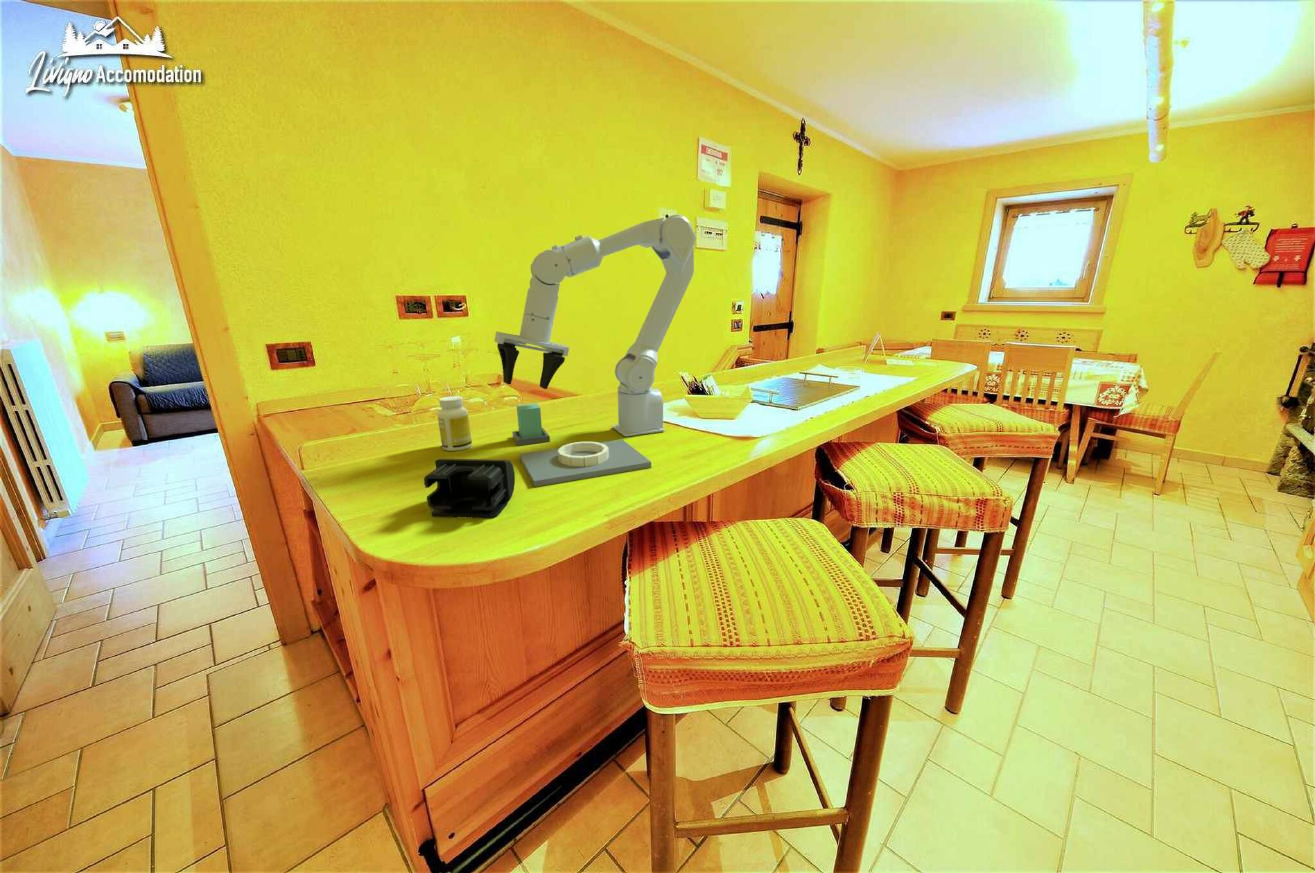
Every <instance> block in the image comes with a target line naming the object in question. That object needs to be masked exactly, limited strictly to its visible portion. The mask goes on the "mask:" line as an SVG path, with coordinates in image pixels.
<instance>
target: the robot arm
mask: <svg viewBox="0 0 1315 873" xmlns="http://www.w3.org/2000/svg"><path fill="white" fill-rule="evenodd" d="M696 236H697V235H696V233H695V232H694V228H693V226H692V224H691V222H690V220H689V219H688V218H687V217H685V216H684V215H682V214H672V215H670V216H669V217H667V218H665V217H659V218H655V219H650V220H647V221H642V222H639V223H638V224H635V225H633V226H630V227H628V228H625V229H623V230H620V231H618V232H616V233H613V234H611V235H608V236H606V237H603V238H600V239H595V238H593V237H591V236H588V235H586V236H584V237H583V235H582V234H579V235H577V236H575V237H574V240H573V241H570V242H568V243H565V244H562V245H559V246H558V244H554V245H551V247H550V248H551V249H545V250H543V251H542V252H540V253H538V254H537V256H535V257H534V259H533V260H532V263H531V264H530V273H531V275H532V276H531V278H530V280H529V288H528V289H527V293H526V299H525V304H524V309H523V315H522V320H521V325H520V331H519V334H512V333H506V332H501V331H495V335H494V341H493V342H495V343H497V346H496V347H497V350H498V353H499V356H500V360H501V365H502V374H503V375H502V376H503V377H502V378H503V379H502V380H503V381H502V382H503V383H504V384H505V385H511V384H512V381H513V376H514V370H515V366H516V362H517V359H518V356H519V354H520V350H518V349H517V347H519V348H522V349H523V348H524V349H529V350H532V351H533V350H534V351H539V352H543V353H542V357H543V358H542V371H541V375H540V380H539V381H540V382H539V387H540V388H541V389H544V390H548V388H549V386H550V384H551V383H550V382H551V381H552V379H553V377H554V375H555V374H556V372H558V370H559V368H560V367H561V366H562V365H563V364H564V363H565V360H566V357H568V356H569V353H570V352H569V351H570V347H569V346H567V345H564V344H561V343H560V344H559V343H556V342H551V336H552V332H553V327H554V322H555V316H556V311H557V307H558V302H559V301H558V300H559V290H560V285H561V283H562V282H563V280H564V279H565V278H566V277H567V278H573V277H575V276H577V275H580V274H583V273H585V272H588V271H591V270H593V269H596V268H599V267H600V265H601V263H602V261H603V258H604V257H606V256H609V255H612V254H614V253H617V252H618V253H619V252H621V251H623V250H626V249H628V248H631V247H635V246H640V247H643V248H645V249H646V248H647V249H648V248H651V249H652V250H653V251H654V253H655V254H656V255H657V257H658V258H659V259H660V260H661V263H662V267H663V268H664V270H665V276H663V277H664V278H663V279H662V282H661V284H660V286H659V288H658V290H657V293H656V295H655V297H654V300H653V301H652V304H651V306H650V308H649V310H648V312H647V315H646V317H645V319H644V321H643V323H642V326H641V328H640V330H639V333H638V334H637V337H636V339H635V341H634V342H633V344H632V345H630V346H629V347H628V349H627V351H626V353H625V355H624V356H623V357H622V358H621V359H619V360H618V362H617V363H616V365H615V368H614V375H615V377H616V379H617V381H618V382H620V383H619V385H618V387H617V413H618V415H617V417H618V419H617V421H618V424H613V425H612V427H611V428H612V429H614V430H615V431H617V432H618V433H620V434H621V435H622V436H623V437H630V436H631V437H632V436H638V435H645V434H652V433H653V434H654V433H659V432H661V433H662V432H665V430H666V429H665V428H664V399H663V395H662V392H661V391H660V389H658V388H652V385H653V384H654V381H655V373H656V372H655V370H656V368H657V365H658V352H659V349H660V347H661V345H662V343H663V340H664V338H665V336H666V334H667V332H668V331H669V328H670V325H671V324H672V321H673V319H674V317H675V315H676V313H677V310H678V309H679V307H680V304H681V302H682V300H683V297H684V295H685V293H686V291H687V289H688V286H689V284H690V283H691V280H692V278H693V276H694V273H695V260H694V259H695V255H694V252H695V249H694V247H695V244H696V240H697V237H696ZM527 344H528V345H527ZM536 346H537V347H536Z"/></svg>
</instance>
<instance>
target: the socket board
mask: <svg viewBox="0 0 1315 873" xmlns="http://www.w3.org/2000/svg"><path fill="white" fill-rule="evenodd" d="M519 460H520V461H521V464H522V466H523V468H524V470H525V471H526V474H527V475H528V477H529V479H530V481H531V483H532V485H533V487H534V488H537V487H542V486H548V485H554V484H560V483H567V482H572V481H577V480H584V479H590V478H591V479H592V478H596V477H602V476H607V475H613V474H620V473H627V472H631V471H637V470H643V469H645V470H646V469H649V468H652V461H651V460H650V459H648V458H647V457H646V456H645V455H643V454H642V453H641V452H640V451H638V450H636V448H634V447H633V446H632V445H631V444H629V443H628V442H626V441H625V440H624V439H615V440H609V441H608V440H607V441H601V442H597V441H577V442H571V443H567V444H564V445H562V446H560V447H558V448H551V449H544V450H537V451H536V450H535V451H529V452H521V453H519Z"/></svg>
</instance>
